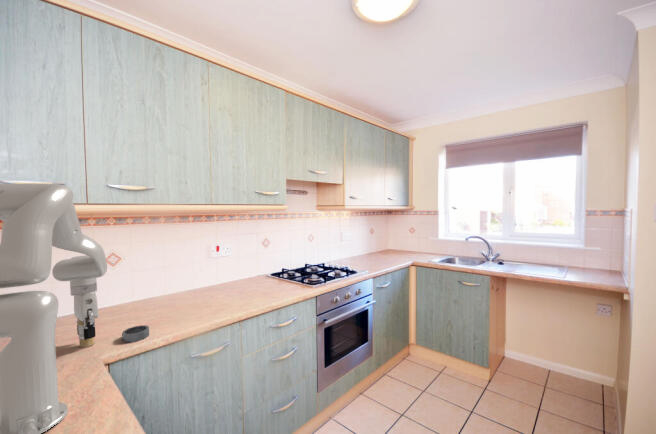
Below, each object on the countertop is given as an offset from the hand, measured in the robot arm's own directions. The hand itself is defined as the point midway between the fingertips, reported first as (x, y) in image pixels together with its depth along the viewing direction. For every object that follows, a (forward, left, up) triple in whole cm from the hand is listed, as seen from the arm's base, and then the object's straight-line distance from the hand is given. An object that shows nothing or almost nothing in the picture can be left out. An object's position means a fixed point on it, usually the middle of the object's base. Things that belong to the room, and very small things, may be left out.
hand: (86, 335), depth 106 cm
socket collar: (-9, -13, -4) cm, 16 cm away
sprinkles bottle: (0, 0, -4) cm, 4 cm away
